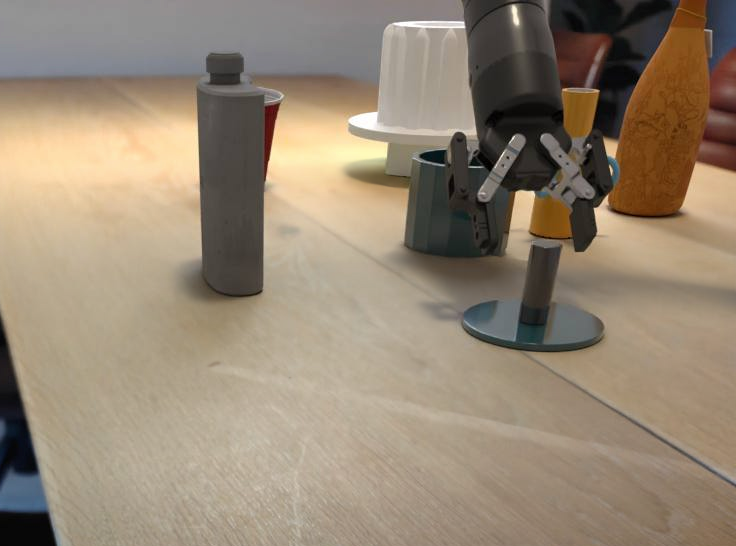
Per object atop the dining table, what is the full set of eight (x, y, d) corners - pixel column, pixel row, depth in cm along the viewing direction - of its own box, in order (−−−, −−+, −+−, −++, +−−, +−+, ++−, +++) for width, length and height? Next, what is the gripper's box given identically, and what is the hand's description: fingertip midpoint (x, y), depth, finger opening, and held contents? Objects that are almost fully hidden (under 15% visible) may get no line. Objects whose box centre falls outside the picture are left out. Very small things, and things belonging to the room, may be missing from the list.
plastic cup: (225, 197, 126) (223, 97, 119) (197, 182, 134) (193, 88, 126) (295, 190, 129) (297, 93, 122) (264, 176, 137) (264, 84, 130)
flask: (198, 256, 102) (190, 45, 90) (249, 255, 103) (248, 44, 90) (208, 297, 90) (201, 60, 78) (266, 295, 91) (268, 60, 79)
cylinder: (544, 217, 117) (569, 81, 108) (618, 232, 111) (651, 90, 102) (488, 233, 110) (509, 90, 101) (563, 250, 104) (592, 99, 95)
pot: (518, 243, 107) (533, 153, 101) (486, 268, 99) (500, 171, 93) (425, 231, 111) (434, 144, 105) (387, 253, 103) (395, 160, 97)
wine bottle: (682, 221, 115) (762, -80, 97) (601, 214, 118) (665, -80, 100) (682, 204, 123) (757, -78, 104) (606, 198, 125) (667, -78, 107)
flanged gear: (478, 196, 126) (500, 33, 115) (318, 178, 136) (323, 26, 125) (530, 166, 144) (554, 22, 132) (384, 152, 153) (395, 16, 142)
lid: (615, 325, 84) (636, 236, 79) (582, 368, 75) (603, 272, 71) (486, 304, 89) (499, 219, 84) (441, 342, 80) (452, 250, 76)
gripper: (449, 48, 77) (474, 226, 75) (609, 46, 78) (637, 221, 76) (424, 111, 84) (446, 275, 82) (570, 108, 86) (595, 269, 84)
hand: (538, 249), depth 79 cm, fingers open, 8 cm apart
